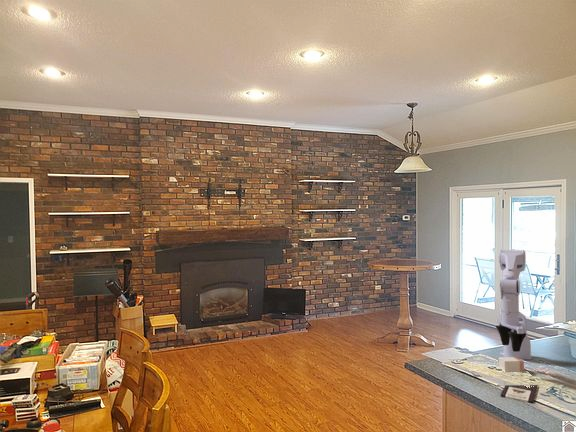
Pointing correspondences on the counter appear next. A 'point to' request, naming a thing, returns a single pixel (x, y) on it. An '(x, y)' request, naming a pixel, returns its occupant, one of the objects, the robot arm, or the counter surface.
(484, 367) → the counter surface
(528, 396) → the chocolate bar
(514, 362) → the card box
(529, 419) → the counter surface
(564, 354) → the counter surface
